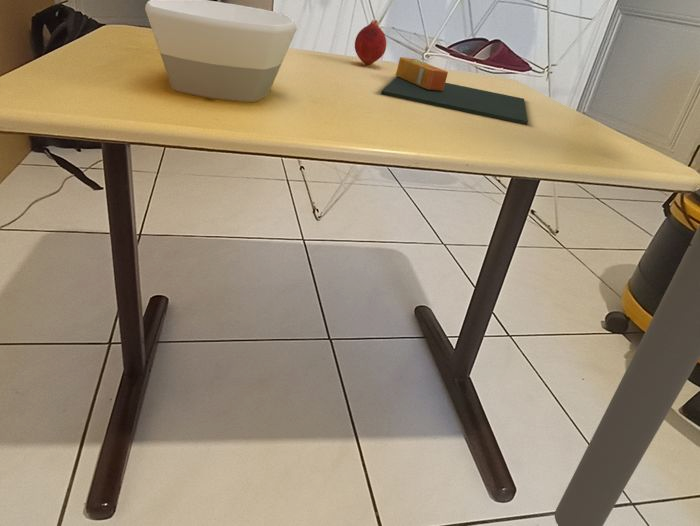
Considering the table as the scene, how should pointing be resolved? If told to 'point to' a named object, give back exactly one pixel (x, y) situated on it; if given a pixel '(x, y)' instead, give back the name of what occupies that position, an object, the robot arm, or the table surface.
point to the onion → (370, 43)
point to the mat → (462, 100)
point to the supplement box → (421, 74)
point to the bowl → (220, 47)
